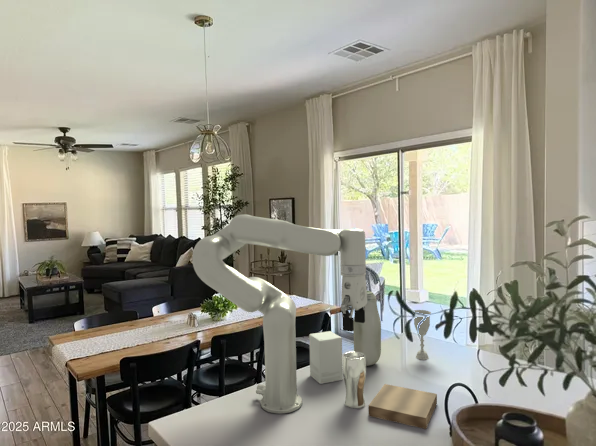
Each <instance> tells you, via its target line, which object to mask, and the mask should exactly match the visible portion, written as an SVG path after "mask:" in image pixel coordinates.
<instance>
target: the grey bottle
mask: <svg viewBox="0 0 596 446" xmlns="http://www.w3.org/2000/svg"><path fill="white" fill-rule="evenodd" d="M377 301H378V300H377V296H376V294H375V293H374V292H372V290H371V291H370V290H367V304H366V305H365V322H364V323H359V322H355V314H353V316H354V317H353V321H354V331H352V332H353V333H352V334H353V351H354V352H361V353H363V354H365V361H366V367H367V366H369V367H370V366H373V365H376V364H377V363H378V361H380V358H381V355H382V354H381V353H382V324H381V323H382V322H381V316H380V313H379V309H378V304H377V303H378V302H377Z"/></svg>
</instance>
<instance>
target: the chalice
mask: <svg viewBox="0 0 596 446" xmlns="http://www.w3.org/2000/svg"><path fill="white" fill-rule="evenodd" d="M413 311H415V312H419V313H423V314H430V316H429V317H427V318H426V320H425V321H423V323H422V324H421V325H420V328H419V334H420V335H421V336H420V335H419V334H418V335H419V336H420V340H419V342H420V344H419V347H420V350H418V351H417V353H416V355H415V358H416V359H417V360H420V361H426V360H429V359H430V357H429V354H428V352H427V351H426V350H424V347H425V344H424V343H425V340H424V336H426V335H427V333H428V331H429V329H430V325H431V323H430V322H431V321H430V320H431V319H430V318H431V314H432V312H431V311H429V310H424V309H416V310H413ZM422 319H423V317H417V318H415V319H414V318H413V324H414V328H415V330H416V331H417V325H418V323H419V322H420V321H421V320H422Z"/></svg>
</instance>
